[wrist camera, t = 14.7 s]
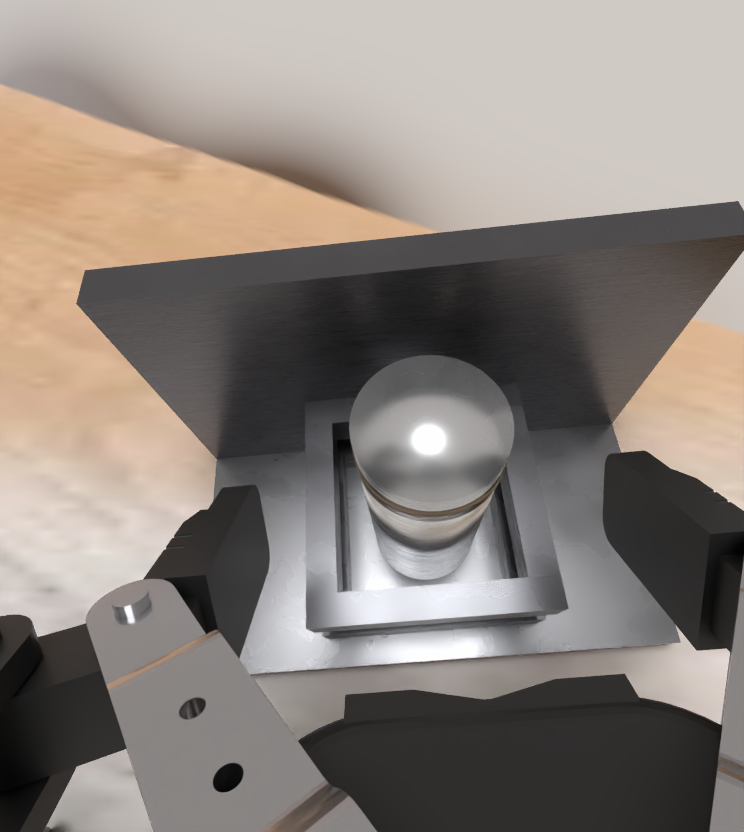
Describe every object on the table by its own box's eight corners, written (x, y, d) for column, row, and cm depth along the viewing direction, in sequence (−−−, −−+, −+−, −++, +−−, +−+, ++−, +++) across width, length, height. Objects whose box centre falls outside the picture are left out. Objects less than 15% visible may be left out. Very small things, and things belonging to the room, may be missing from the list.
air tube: (378, 584, 20) (351, 510, 12) (372, 488, 22) (345, 361, 13) (480, 576, 20) (531, 496, 11) (465, 480, 22) (499, 347, 13)
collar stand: (208, 677, 20) (-22, 675, 10) (228, 411, 26) (96, 225, 15) (668, 643, 20) (968, 601, 9) (587, 378, 25) (712, 157, 15)
